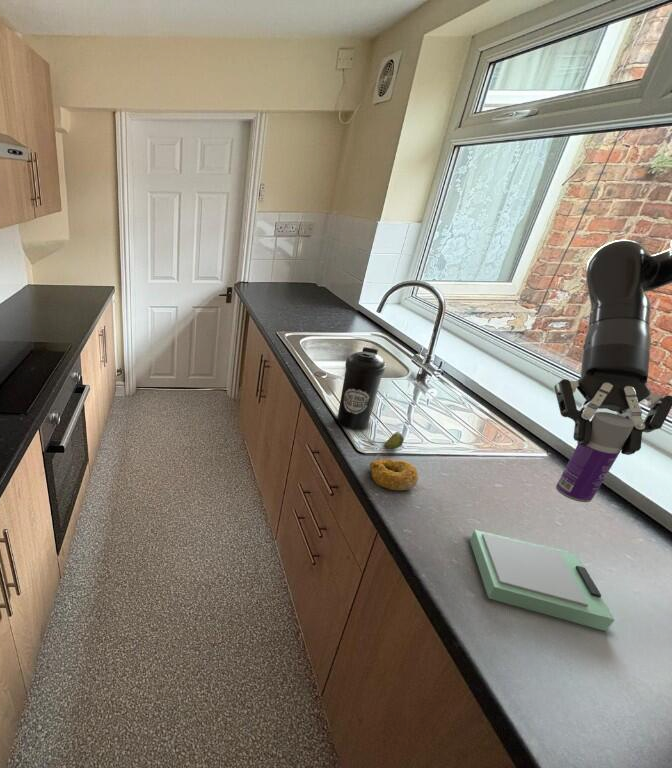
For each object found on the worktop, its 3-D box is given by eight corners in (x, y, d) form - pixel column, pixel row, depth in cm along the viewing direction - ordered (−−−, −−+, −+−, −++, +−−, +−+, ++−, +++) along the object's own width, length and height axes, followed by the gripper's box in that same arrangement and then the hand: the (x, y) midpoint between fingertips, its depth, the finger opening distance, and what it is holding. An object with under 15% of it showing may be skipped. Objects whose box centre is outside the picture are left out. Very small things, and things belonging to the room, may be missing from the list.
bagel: (389, 462, 107) (394, 447, 105) (425, 489, 98) (431, 473, 96) (357, 469, 105) (361, 454, 103) (391, 498, 95) (396, 482, 93)
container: (591, 506, 69) (636, 430, 62) (554, 493, 72) (593, 419, 65) (592, 492, 72) (635, 418, 65) (556, 480, 75) (593, 408, 68)
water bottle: (330, 424, 124) (344, 353, 113) (338, 410, 131) (353, 342, 121) (366, 435, 119) (385, 361, 108) (373, 419, 126) (391, 349, 116)
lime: (384, 450, 112) (388, 435, 110) (381, 441, 116) (385, 426, 114) (402, 453, 111) (407, 438, 108) (399, 443, 115) (403, 428, 112)
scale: (568, 564, 79) (577, 551, 77) (606, 631, 67) (616, 617, 66) (469, 540, 84) (475, 527, 83) (488, 598, 73) (495, 584, 71)
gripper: (569, 335, 69) (557, 431, 65) (693, 350, 63) (688, 457, 59) (549, 353, 76) (537, 442, 72) (660, 368, 69) (653, 466, 65)
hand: (605, 448), depth 65 cm, fingers closed on container, 4 cm apart
